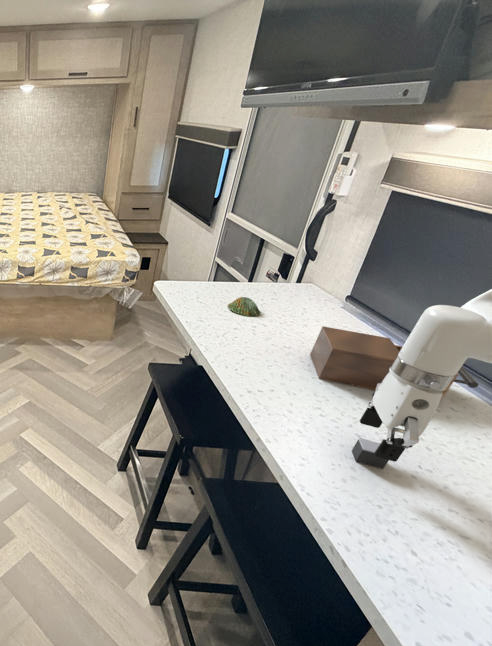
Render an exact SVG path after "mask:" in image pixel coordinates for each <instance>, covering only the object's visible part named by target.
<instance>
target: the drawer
mask: <svg viewBox="0 0 492 646" xmlns="http://www.w3.org/2000/svg"><path fill="white" fill-rule="evenodd" d="M394 345H395V346H396V347H397V349H398V350H399V351H400V350H401V349H402V347H403V345H396V344H394ZM458 376H459V377H460V378H461V379H457V377H458ZM453 383H457V384H458V383H459V384H463V385H467V386H468V387H469V388H471V389H475V388H477V387H479V383H478V382H477V381H476V380H475V379H474V378H473V376H471V374H470V373H469V372H468V371H467V370H466V369H465V368H464V367H463V366H462V367H461V368H460V370H459V371H458V372H457V374H456V375H455V377H454V378H453V379H452V381H451V382H450V384H449V385H448V386H447V388H446V389H445V390H444V391H442V392H443V395H442V398H441V400H442V399H443V398H444V397H445V395H446V394H447V392H448V391H449V389H450V388H451V386H452V385H453Z"/></svg>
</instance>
